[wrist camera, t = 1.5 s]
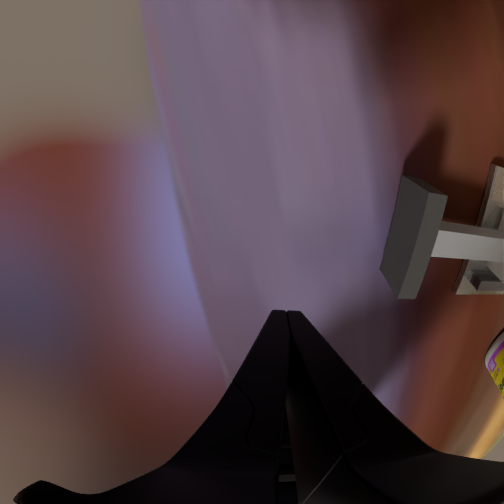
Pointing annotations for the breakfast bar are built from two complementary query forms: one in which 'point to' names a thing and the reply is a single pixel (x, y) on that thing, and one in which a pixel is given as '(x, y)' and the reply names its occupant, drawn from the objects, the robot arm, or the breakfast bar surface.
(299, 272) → the breakfast bar surface
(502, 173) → the track
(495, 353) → the supplement bottle
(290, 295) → the breakfast bar surface
